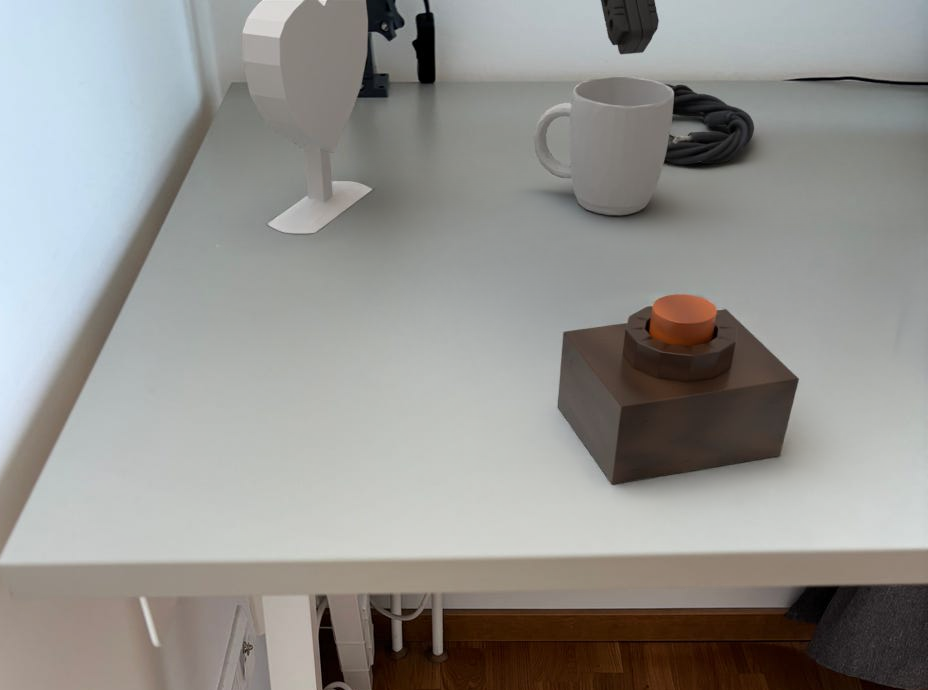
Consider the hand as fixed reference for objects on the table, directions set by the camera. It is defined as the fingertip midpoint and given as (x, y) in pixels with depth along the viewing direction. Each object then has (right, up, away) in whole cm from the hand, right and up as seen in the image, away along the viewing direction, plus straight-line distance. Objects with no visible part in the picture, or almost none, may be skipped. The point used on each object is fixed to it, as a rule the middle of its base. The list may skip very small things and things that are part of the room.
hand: (637, 46), depth 67 cm
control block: (+3, -23, +7) cm, 24 cm away
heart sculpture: (-24, +4, +36) cm, 43 cm away
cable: (+14, +17, +50) cm, 54 cm away
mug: (+2, +5, +37) cm, 37 cm away
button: (+3, -17, +2) cm, 18 cm away
